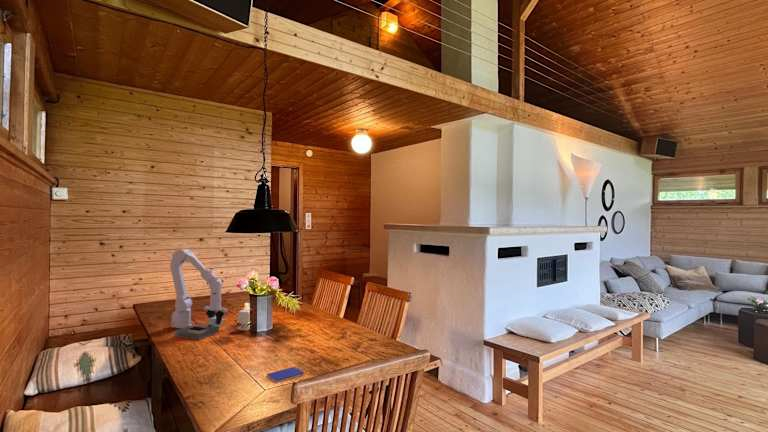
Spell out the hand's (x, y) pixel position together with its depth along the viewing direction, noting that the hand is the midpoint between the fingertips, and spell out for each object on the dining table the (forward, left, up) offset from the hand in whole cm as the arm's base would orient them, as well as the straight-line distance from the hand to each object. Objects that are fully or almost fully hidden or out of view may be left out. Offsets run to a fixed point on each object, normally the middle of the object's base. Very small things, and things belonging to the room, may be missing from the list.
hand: (215, 323), depth 226 cm
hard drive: (+75, -45, -2) cm, 87 cm away
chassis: (+2, -16, -1) cm, 16 cm away
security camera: (+18, +3, -2) cm, 18 cm away
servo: (0, 0, -1) cm, 1 cm away
